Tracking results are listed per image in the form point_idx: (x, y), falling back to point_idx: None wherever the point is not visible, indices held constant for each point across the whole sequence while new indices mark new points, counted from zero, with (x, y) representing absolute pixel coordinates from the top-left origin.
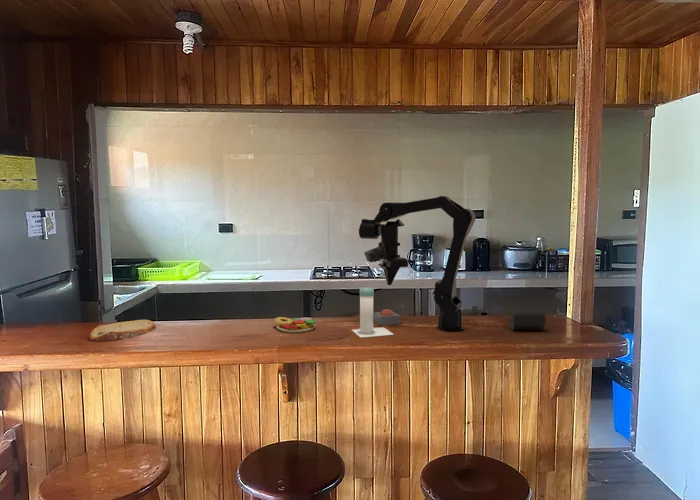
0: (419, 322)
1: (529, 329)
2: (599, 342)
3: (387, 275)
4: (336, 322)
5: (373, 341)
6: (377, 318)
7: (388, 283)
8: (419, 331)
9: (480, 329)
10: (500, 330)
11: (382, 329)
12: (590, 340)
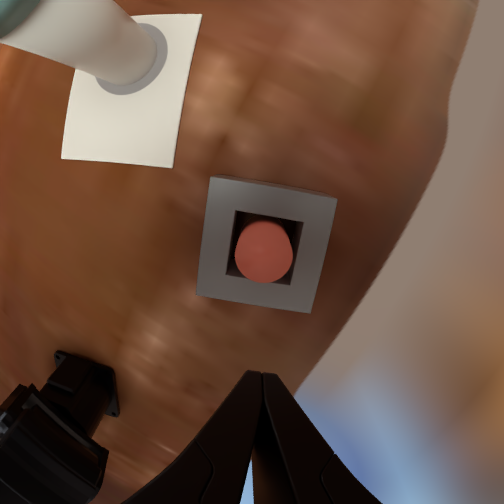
0: (199, 362)
1: None
2: None
3: (191, 448)
4: (378, 26)
5: (37, 58)
6: (262, 183)
7: (240, 381)
8: (75, 279)
9: None
10: None
11: (139, 144)
12: None
